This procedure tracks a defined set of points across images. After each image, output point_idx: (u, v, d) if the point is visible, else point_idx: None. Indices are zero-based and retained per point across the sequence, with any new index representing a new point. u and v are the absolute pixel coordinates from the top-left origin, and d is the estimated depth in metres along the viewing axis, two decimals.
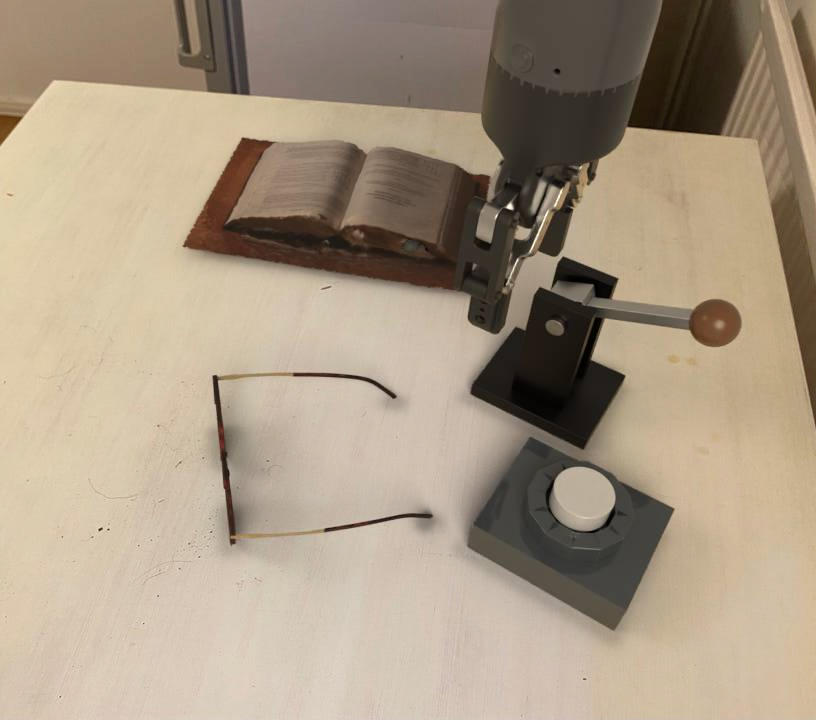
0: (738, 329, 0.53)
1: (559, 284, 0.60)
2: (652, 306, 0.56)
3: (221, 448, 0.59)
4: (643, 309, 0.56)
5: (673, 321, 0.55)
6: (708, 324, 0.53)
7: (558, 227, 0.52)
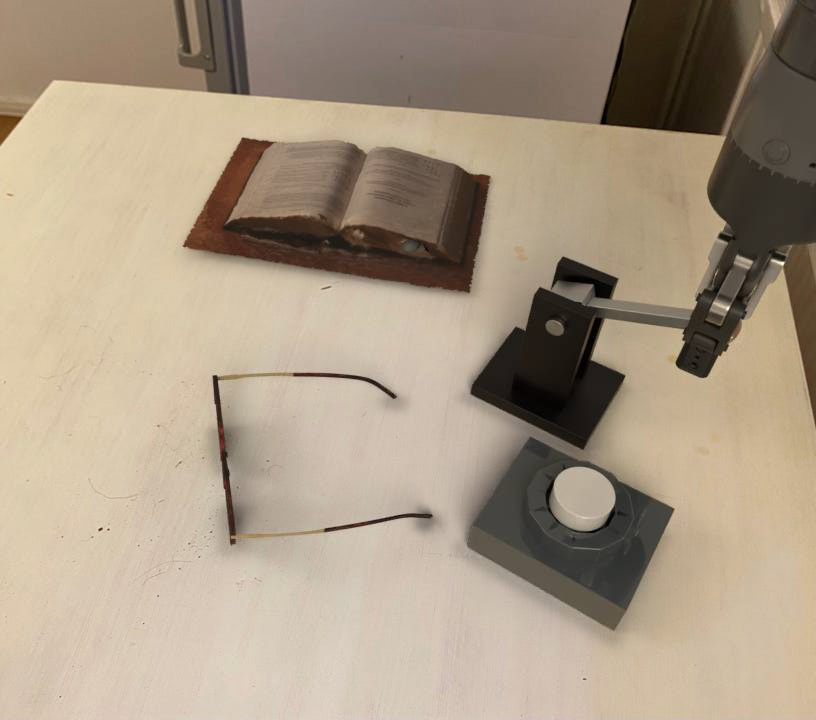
0: (738, 329, 0.53)
1: (559, 284, 0.60)
2: (652, 306, 0.56)
3: (221, 448, 0.59)
4: (643, 309, 0.56)
5: (673, 321, 0.55)
6: None
7: None
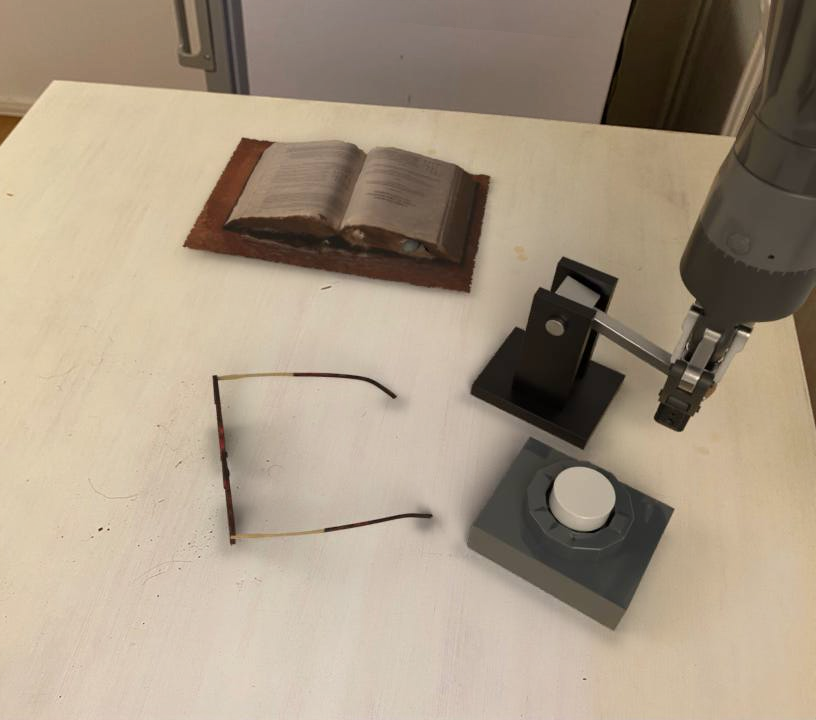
0: None
1: (569, 281, 0.59)
2: (646, 341, 0.58)
3: (221, 448, 0.59)
4: (638, 341, 0.58)
5: (660, 364, 0.58)
6: None
7: None
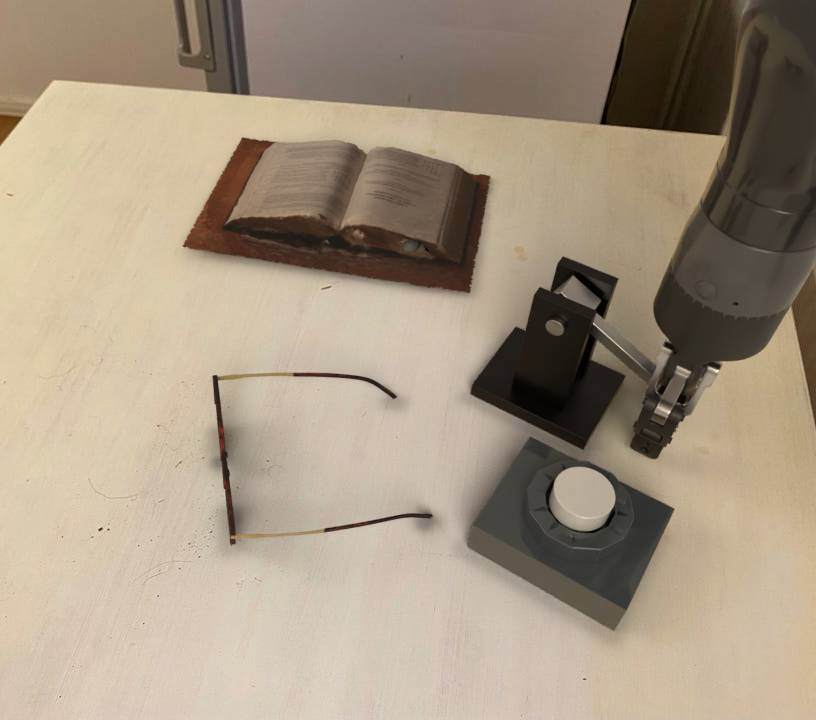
0: None
1: (573, 282, 0.59)
2: (637, 351, 0.59)
3: (221, 448, 0.59)
4: (630, 351, 0.59)
5: (646, 375, 0.59)
6: None
7: None
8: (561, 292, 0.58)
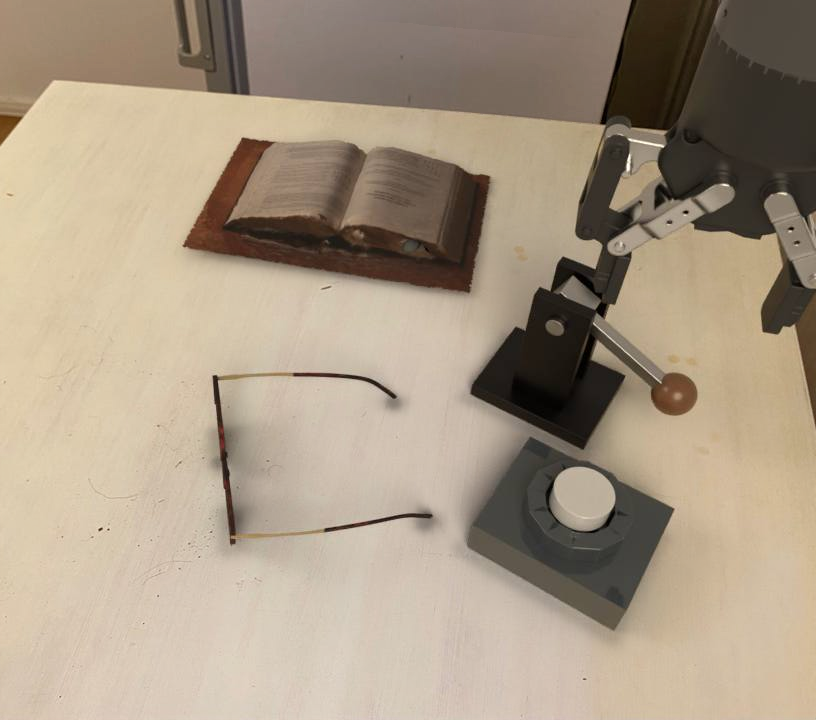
0: (688, 411, 0.59)
1: (573, 282, 0.59)
2: (637, 351, 0.59)
3: (221, 448, 0.59)
4: (630, 351, 0.59)
5: (646, 375, 0.59)
6: (676, 401, 0.58)
7: (780, 297, 0.42)
8: (561, 292, 0.58)
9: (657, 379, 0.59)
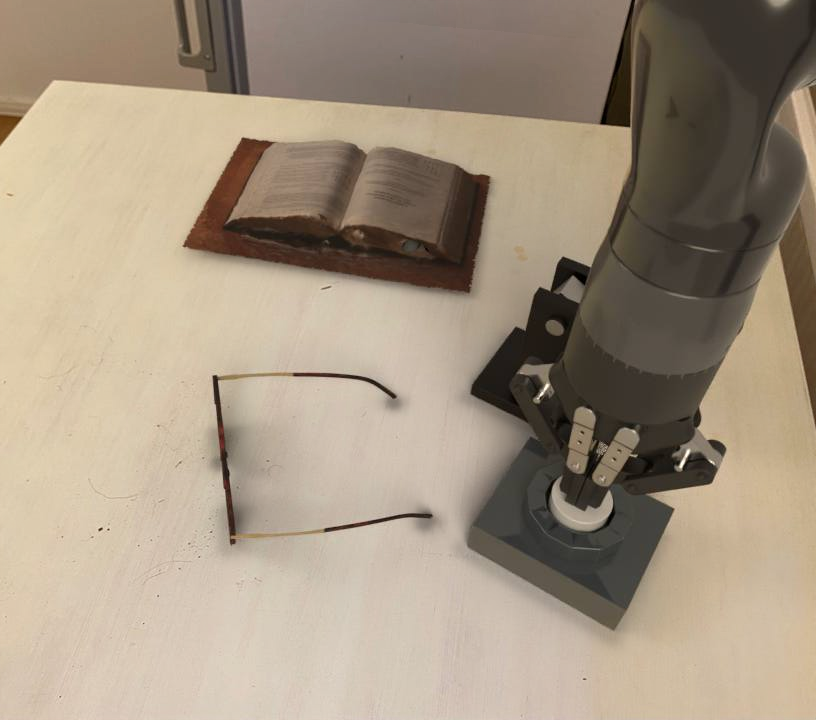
0: None
1: (573, 282, 0.59)
2: None
3: (221, 448, 0.59)
4: None
5: None
6: None
7: None
8: (561, 292, 0.58)
9: None
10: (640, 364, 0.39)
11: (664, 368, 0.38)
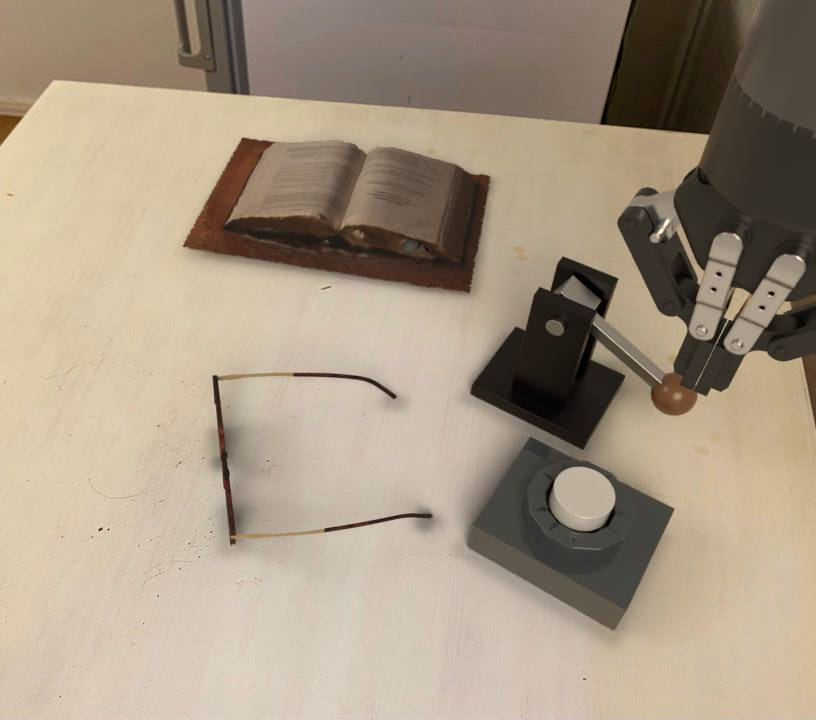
0: (688, 411, 0.59)
1: (573, 282, 0.59)
2: (637, 351, 0.59)
3: (221, 448, 0.59)
4: (630, 351, 0.59)
5: (646, 375, 0.59)
6: (676, 401, 0.58)
7: None
8: (561, 292, 0.58)
9: (657, 379, 0.59)
10: None
11: None
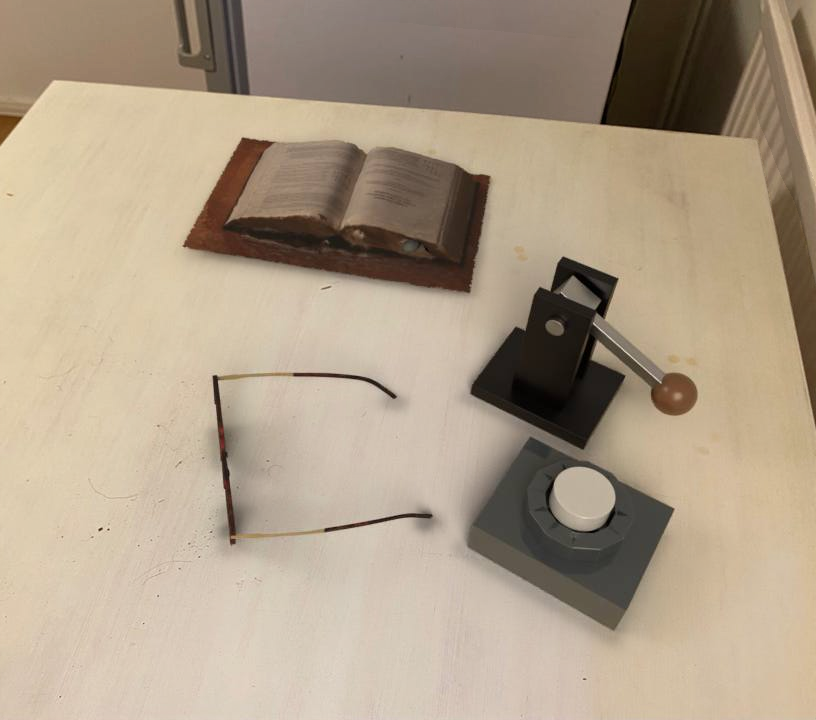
0: (688, 411, 0.59)
1: (573, 282, 0.59)
2: (637, 351, 0.59)
3: (221, 448, 0.59)
4: (630, 351, 0.59)
5: (646, 375, 0.59)
6: (676, 401, 0.58)
7: None
8: (561, 292, 0.58)
9: (657, 379, 0.59)
10: None
11: None
